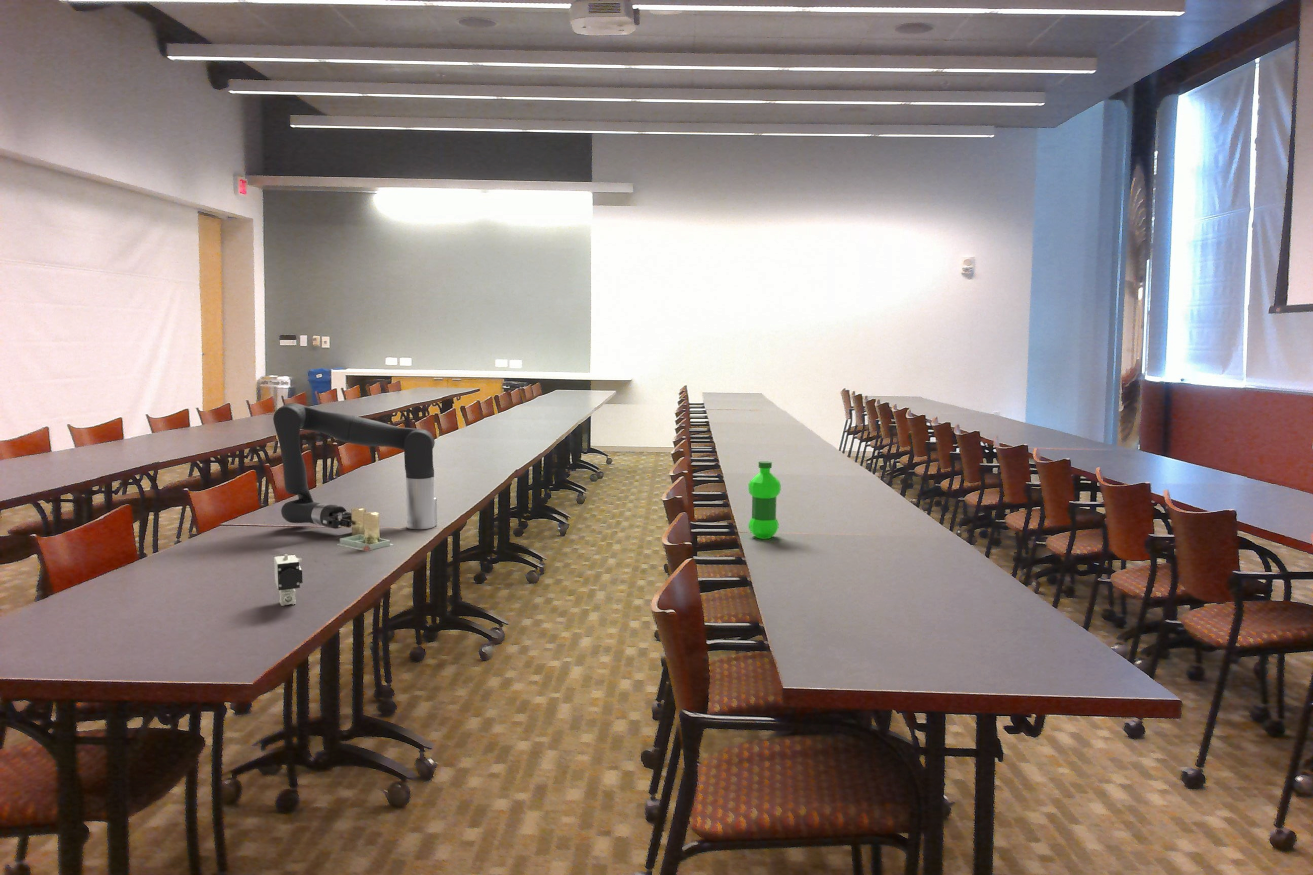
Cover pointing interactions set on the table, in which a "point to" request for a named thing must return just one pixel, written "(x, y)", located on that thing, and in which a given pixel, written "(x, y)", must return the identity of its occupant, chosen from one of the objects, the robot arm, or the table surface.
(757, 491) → the plastic bottle
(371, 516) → the seated billet
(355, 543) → the pale green divided tray
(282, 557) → the pneumatic valve
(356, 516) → the billet
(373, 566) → the table surface
